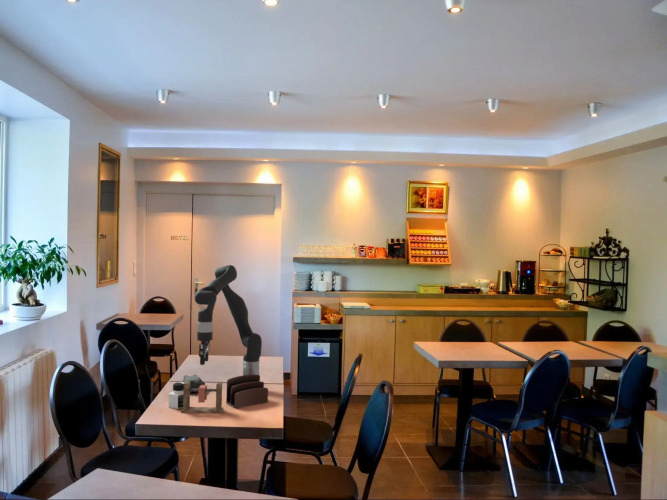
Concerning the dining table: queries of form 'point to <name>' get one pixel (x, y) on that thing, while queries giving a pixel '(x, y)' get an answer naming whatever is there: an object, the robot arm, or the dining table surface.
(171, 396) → the medicine bottle
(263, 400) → the letter holder
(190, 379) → the rock
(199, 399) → the pink u-shaped bracket
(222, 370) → the dining table surface
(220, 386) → the rail stand
